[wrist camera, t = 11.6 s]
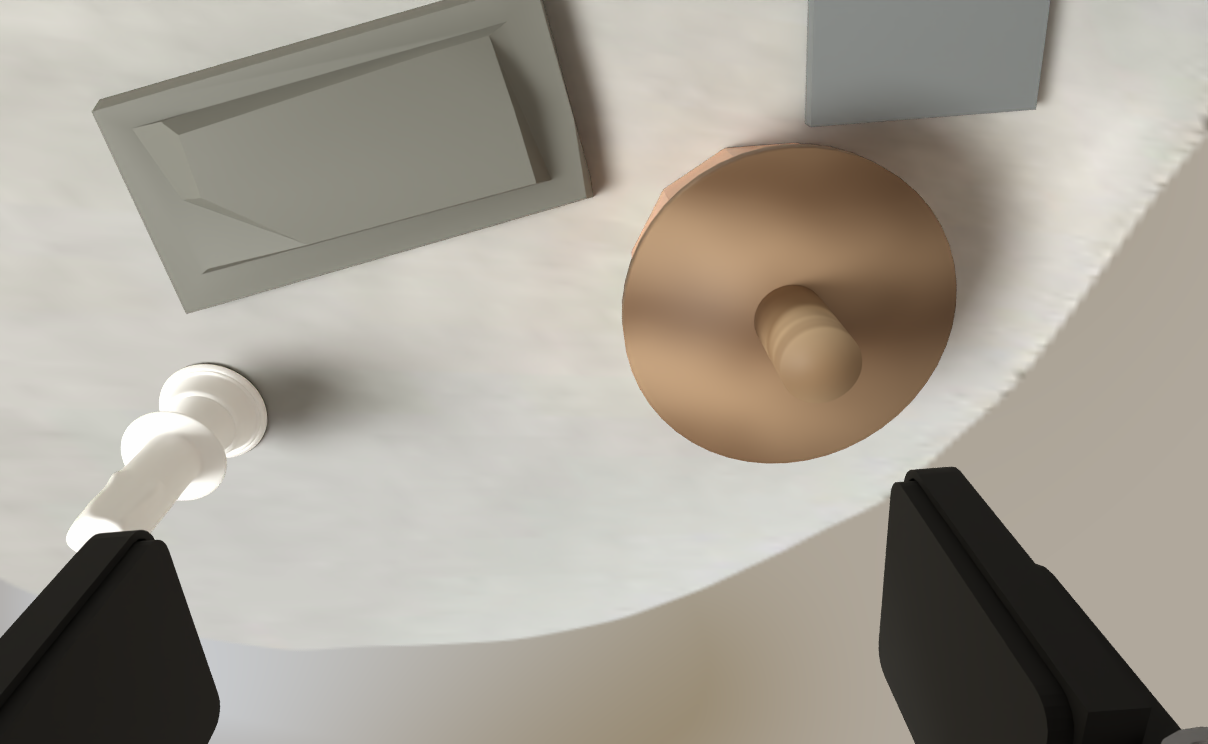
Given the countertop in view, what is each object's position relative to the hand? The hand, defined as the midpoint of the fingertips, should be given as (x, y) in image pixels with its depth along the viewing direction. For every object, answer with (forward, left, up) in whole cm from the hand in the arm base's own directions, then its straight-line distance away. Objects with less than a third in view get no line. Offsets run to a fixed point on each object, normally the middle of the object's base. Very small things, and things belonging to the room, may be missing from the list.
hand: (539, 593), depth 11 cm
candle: (+11, -19, -31) cm, 38 cm away
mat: (-7, +16, -30) cm, 35 cm away
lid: (+6, +9, -25) cm, 28 cm away
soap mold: (-1, -9, -31) cm, 33 cm away
